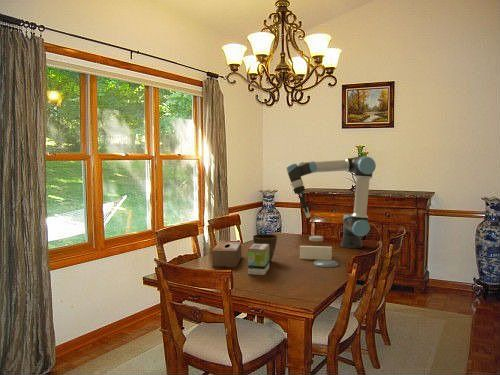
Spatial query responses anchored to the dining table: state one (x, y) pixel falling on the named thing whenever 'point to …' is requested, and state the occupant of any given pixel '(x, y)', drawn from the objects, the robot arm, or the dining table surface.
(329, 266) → the plate
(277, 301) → the dining table surface
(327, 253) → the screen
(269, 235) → the plant pot
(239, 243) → the tissue box cover
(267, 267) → the tea box
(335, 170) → the robot arm
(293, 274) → the dining table surface
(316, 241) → the disposable coffee cup
